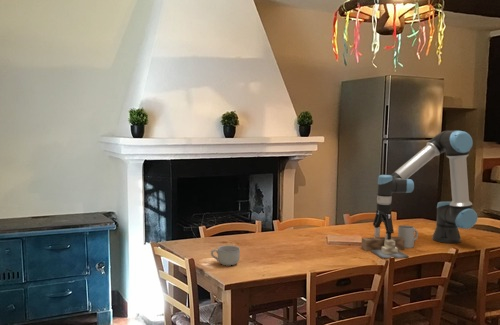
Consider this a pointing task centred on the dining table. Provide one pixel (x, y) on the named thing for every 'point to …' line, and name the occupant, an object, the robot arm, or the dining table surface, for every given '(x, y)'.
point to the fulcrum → (389, 251)
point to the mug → (407, 235)
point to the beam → (380, 243)
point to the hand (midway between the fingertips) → (382, 242)
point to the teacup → (227, 254)
